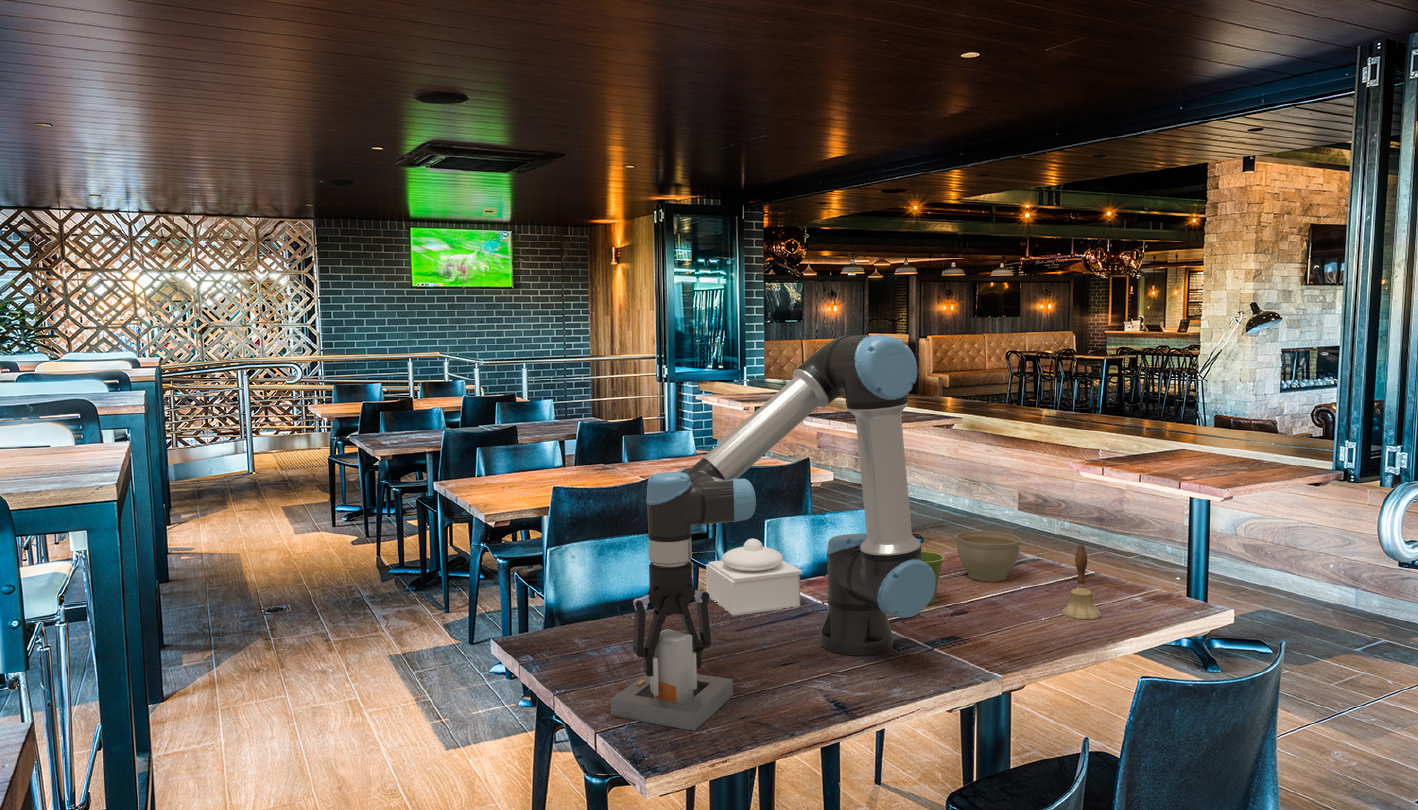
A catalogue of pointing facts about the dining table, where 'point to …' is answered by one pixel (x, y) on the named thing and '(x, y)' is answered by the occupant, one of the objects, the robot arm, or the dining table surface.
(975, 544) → the planter bowl
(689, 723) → the collar
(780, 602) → the butter dish
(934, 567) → the plant pot
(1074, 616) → the hand bell
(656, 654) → the skincare box
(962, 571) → the dining table surface
